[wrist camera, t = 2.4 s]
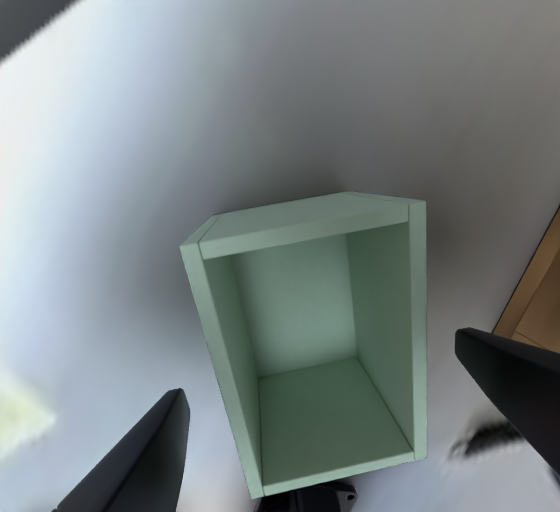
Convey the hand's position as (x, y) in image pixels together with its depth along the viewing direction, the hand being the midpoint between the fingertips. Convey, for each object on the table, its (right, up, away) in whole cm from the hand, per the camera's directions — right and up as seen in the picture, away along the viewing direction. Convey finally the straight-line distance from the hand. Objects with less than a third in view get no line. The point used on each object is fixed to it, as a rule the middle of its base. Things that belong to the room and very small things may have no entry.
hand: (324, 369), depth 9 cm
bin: (-1, +2, +5) cm, 6 cm away
